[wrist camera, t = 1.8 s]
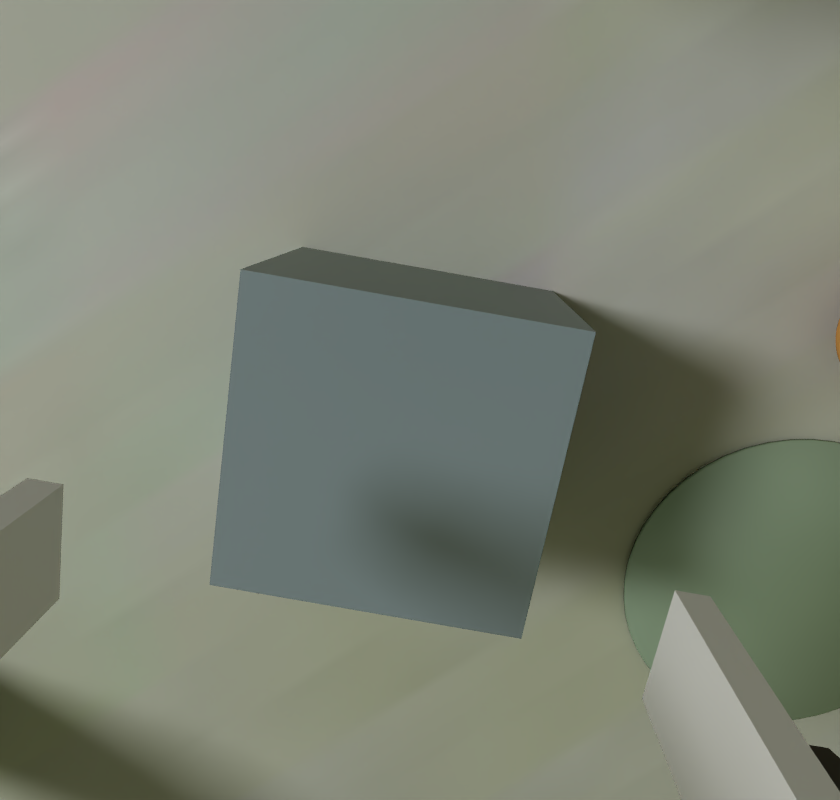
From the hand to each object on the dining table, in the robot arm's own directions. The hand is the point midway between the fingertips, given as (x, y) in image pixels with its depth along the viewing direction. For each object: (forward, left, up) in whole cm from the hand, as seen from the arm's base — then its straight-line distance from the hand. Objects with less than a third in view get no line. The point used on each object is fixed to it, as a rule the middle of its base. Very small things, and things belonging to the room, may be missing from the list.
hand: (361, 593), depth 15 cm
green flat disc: (+6, +18, -16) cm, 25 cm away
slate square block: (0, 0, -16) cm, 16 cm away
